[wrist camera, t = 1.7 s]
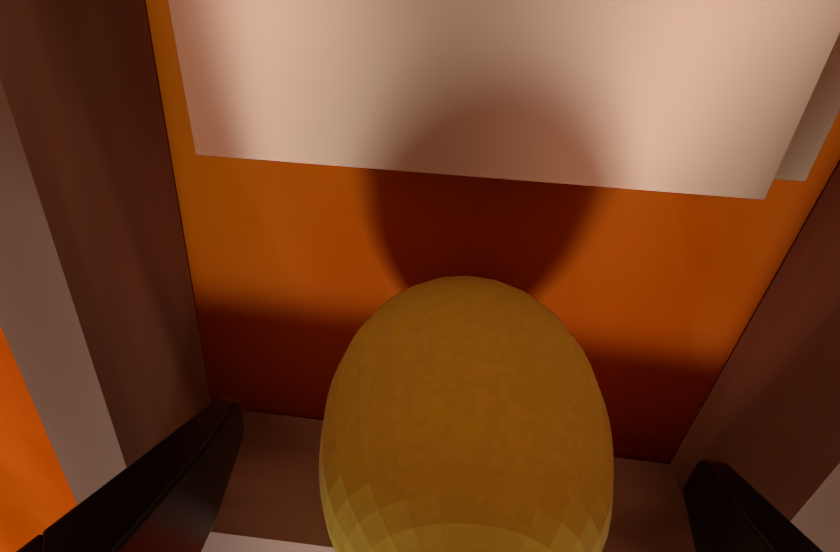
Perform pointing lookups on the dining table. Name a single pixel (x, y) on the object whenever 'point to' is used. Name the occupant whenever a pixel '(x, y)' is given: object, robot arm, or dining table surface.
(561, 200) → the dining table surface
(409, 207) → the dining table surface
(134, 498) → the robot arm
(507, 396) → the lemon
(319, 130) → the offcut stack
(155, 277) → the walnut rack
